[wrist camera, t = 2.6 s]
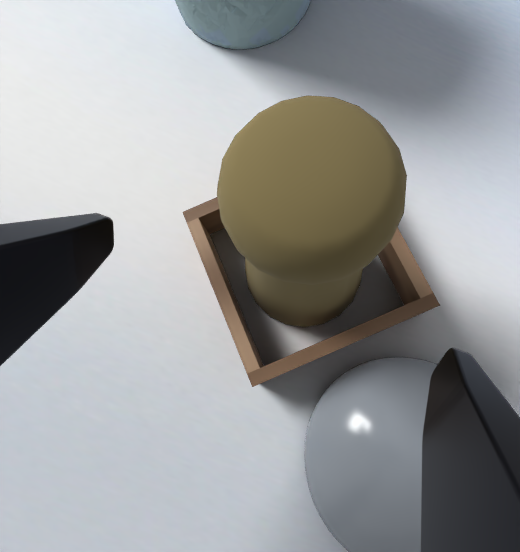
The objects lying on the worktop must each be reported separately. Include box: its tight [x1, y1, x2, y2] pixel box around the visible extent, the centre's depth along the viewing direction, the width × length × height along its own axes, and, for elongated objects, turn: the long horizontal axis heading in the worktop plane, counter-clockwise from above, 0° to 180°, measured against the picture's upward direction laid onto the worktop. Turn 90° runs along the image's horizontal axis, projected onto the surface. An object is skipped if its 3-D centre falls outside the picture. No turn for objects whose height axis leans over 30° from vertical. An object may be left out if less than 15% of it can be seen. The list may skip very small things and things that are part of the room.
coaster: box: [304, 357, 438, 552], centre depth 17 cm, size 9×9×1 cm
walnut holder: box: [183, 197, 440, 387], centre depth 19 cm, size 9×9×2 cm
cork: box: [217, 96, 407, 327], centre depth 14 cm, size 6×6×11 cm
